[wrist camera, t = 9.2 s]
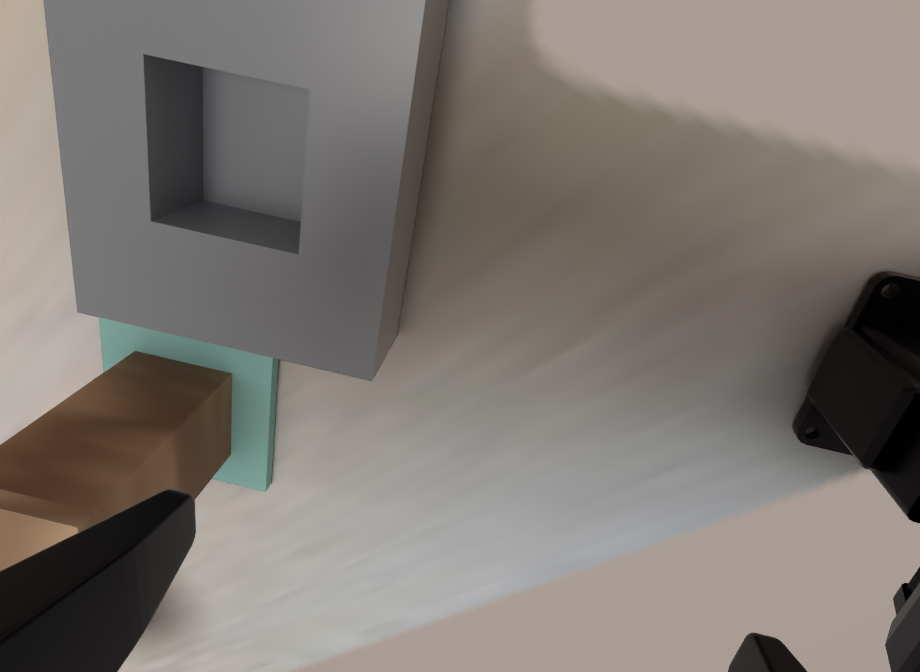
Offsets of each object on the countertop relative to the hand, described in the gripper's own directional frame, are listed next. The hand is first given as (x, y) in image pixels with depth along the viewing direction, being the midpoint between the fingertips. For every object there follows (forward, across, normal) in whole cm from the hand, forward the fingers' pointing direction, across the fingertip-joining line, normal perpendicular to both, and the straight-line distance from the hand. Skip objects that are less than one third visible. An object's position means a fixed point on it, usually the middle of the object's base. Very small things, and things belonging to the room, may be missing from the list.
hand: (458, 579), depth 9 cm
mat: (+13, +12, +7) cm, 19 cm away
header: (+13, +9, -4) cm, 16 cm away
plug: (+12, +12, +7) cm, 19 cm away
